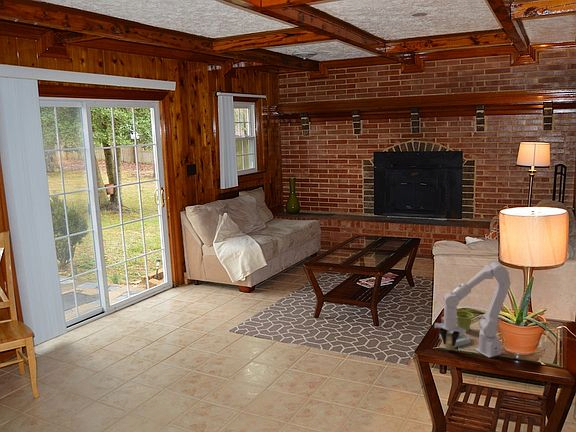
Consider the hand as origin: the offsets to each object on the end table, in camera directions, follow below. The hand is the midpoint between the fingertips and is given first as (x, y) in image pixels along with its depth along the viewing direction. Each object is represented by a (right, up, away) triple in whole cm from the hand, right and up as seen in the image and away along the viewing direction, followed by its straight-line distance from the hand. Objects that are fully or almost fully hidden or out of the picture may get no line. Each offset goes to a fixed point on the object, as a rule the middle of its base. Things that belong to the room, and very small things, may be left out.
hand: (449, 344), depth 248 cm
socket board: (+6, -1, +11) cm, 13 cm away
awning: (+5, 0, +17) cm, 17 cm away
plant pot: (+14, +2, +23) cm, 28 cm away
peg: (0, -2, 0) cm, 2 cm away
